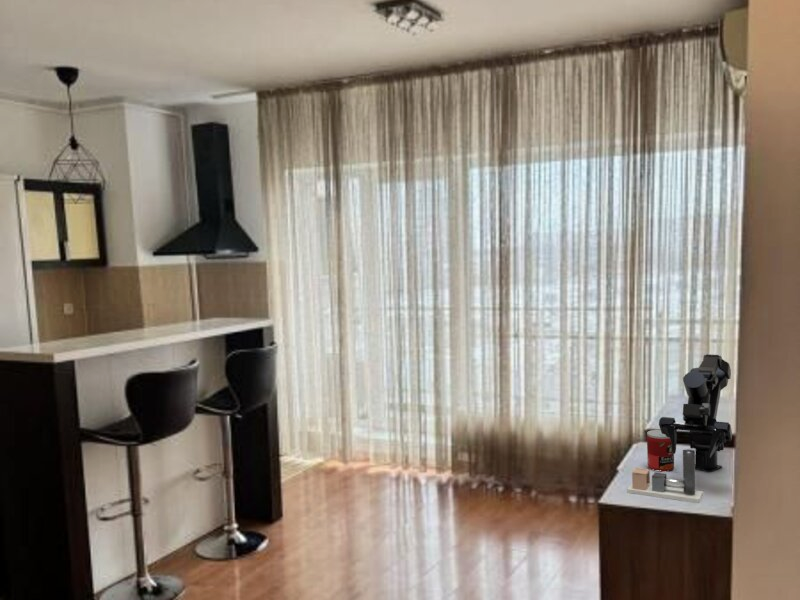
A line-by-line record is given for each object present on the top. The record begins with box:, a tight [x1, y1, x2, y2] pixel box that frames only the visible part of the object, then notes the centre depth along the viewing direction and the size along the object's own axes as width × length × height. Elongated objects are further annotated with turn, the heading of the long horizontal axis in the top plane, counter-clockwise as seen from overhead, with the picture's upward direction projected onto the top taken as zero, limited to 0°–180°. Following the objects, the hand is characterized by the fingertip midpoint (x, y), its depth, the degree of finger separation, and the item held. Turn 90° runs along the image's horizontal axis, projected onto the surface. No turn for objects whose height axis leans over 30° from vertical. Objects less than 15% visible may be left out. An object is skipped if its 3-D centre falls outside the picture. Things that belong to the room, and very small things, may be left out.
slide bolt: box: [664, 449, 696, 494], centre depth 195 cm, size 11×3×12 cm, turn 58°
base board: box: [626, 483, 704, 504], centre depth 197 cm, size 19×6×1 cm, turn 58°
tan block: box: [631, 467, 651, 490], centre depth 200 cm, size 4×4×5 cm
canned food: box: [646, 429, 675, 472], centre depth 218 cm, size 8×8×11 cm
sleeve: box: [651, 472, 668, 492], centre depth 198 cm, size 3×3×4 cm
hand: (691, 454), depth 196 cm, fingers open, 9 cm apart
